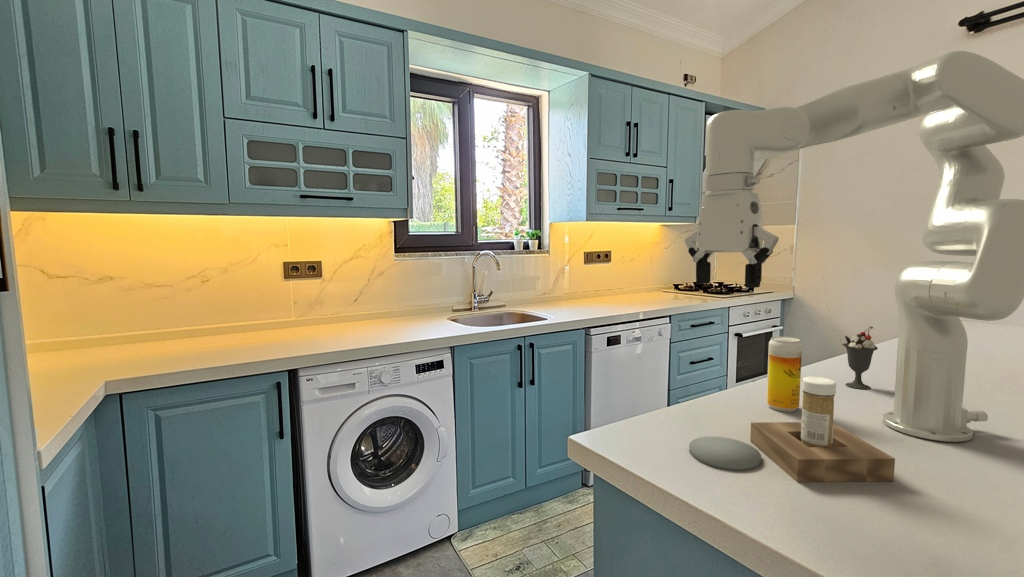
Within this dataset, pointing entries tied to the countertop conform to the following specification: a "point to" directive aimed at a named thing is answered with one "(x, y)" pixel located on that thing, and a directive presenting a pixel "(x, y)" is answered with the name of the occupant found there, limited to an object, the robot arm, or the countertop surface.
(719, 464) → the slate coaster
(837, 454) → the walnut pocket block
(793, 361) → the beer can
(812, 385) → the sprinkles bottle
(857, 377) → the sundae
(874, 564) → the countertop surface
